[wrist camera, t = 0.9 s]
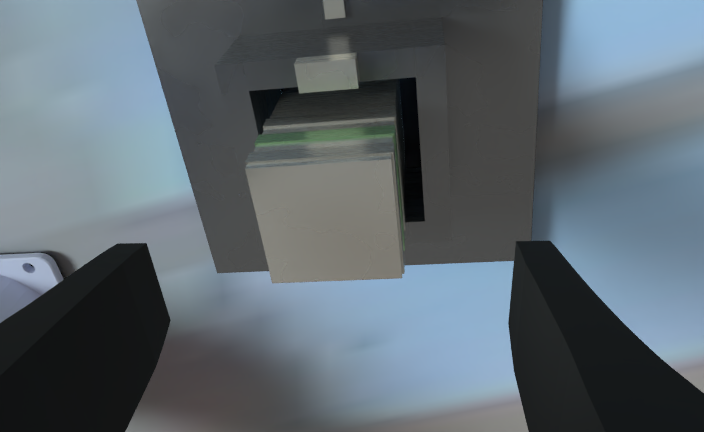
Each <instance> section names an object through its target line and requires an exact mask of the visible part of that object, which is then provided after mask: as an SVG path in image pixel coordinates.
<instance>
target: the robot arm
mask: <svg viewBox="0 0 704 432" xmlns="http://www.w3.org/2000/svg"><path fill="white" fill-rule="evenodd" d="M30 264H31V265H33V266H34V267H32V266H31V265H30ZM169 324H170V317H169V314H168V311H167V308H166V304H165V301H164V298H163V295H162V292H161V288H160V285H159V282H158V279H157V276H156V272H155V269H154V266H153V263H152V260H151V256H150V253H149V250H148V247H147V243H134V244H116V245H115V246H113V247H111V248H109V249H108V250H106V251H105V252H103V253H102V254H100V255H99V256H97V257H96V258H94V259H93V260H91V261H90V262H88V263H87V264H85V265H84V266H83V267H81V268H80V269H78V270H77V271H75V272H74V273H73V274H71V275H70V276H68V277H67V278H65V279H63V277H62V275H61V273H60V271H59V268H58V266H57V264H56V262H55V261H54V259H53V258H52V257H51V256H49V255H47V254H45V253H25V254H5V255H0V432H125V431H126V429H127V427H128V424H129V422H130V420H131V418H132V416H133V414H134V412H135V410H136V408H137V406H138V404H139V402H140V400H141V397H142V395H143V393H144V391H145V389H146V387H147V385H148V383H149V380H150V378H151V376H152V374H153V372H154V370H155V367H156V365H157V362H158V359H159V356H160V353H161V350H162V347H163V344H164V341H165V337H166V334H167V331H168V327H169ZM509 332H510V341H511V350H512V358H513V365H514V372H515V377H516V381H517V385H518V389H519V393H520V397H521V401H522V406H523V410H524V414H525V418H526V422H527V426H528V430H529V432H704V393H703V392H701V391H700V390H699V389H698V388H696V387H695V386H694V385H693V384H691V383H690V382H689V381H688V380H686V379H685V378H684V377H683V376H681V375H680V374H679V373H678V372H676V371H675V370H674V369H673V368H671V367H670V366H669V365H668V364H667V363H665V362H664V361H663V360H662V359H661V358H660V357H659V356H657V355H656V354H655V353H654V352H653V351H652V350H651V349H650V348H649V347H648V346H647V345H646V344H644V343H643V342H642V341H641V340H640V339H639V338H638V337H637V336H636V335H635V334H634V333H633V332H632V331H631V330H630V329H629V328H628V327H627V326H626V325H625V324H624V323H623V322H622V321H621V320H620V319H619V318H618V317H617V316H616V315H615V314H614V313H613V312H612V311H611V310H610V309H609V308H608V307H607V305H606V304H605V303H604V302H603V301H602V300H601V299H600V298H599V297H598V296H597V295H596V294H595V293H594V291H593V290H592V289H591V288H590V287H589V286H588V285H587V284H586V282H585V281H584V280H583V279H582V278H581V277H580V275H579V274H578V273H577V272H576V271H575V270H574V268H573V267H572V266H571V265H570V264H569V262H568V261H567V260H566V259H565V258H564V256H563V255H562V254H561V253H560V252H559V250H558V249H557V248H556V247H555V246H554V245H553V244H552V243H551V242H550V241H516V246H515V257H514V268H513V279H512V290H511V301H510V312H509Z"/></svg>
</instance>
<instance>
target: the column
mask: <svg viewBox="0 0 704 432" xmlns="http://www.w3.org/2000/svg"><path fill="white" fill-rule="evenodd" d="M254 144H255V149H254V152H250V153H249V155H248V157H247V159H246V161H245V164H246V168H245V171H246V175H247V179H248V184H249V188H250V192H251V196H252V200H253V204H254V209H255V213H256V217H257V221H258V225H259V230H260V234H261V238H262V242H263V246H264V251H265V255H266V259H267V263H268V267H269V272H270V276H271V280H272V283H291V282H317V281H343V280H368V279H394V278H402V274H404V268H405V261H404V251H405V234H404V230H405V209H404V184H405V144H404V131H403V118H402V105H401V92H400V80H399V79H388V80H376V81H364V82H360V84H359V89H347V90H335V91H322V92H310V93H299V90H298V87H291V88H284V90H283V92H282V94H281V96H280V98H279V100H278V103H277V105H276V107H275V109H274V111H273V113H272V115H271V117H270V119H266V121H265V123H264V125H263V133H262V135H258V137H257V139H256V141H255V143H254Z"/></svg>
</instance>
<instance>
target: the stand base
mask: <svg viewBox="0 0 704 432" xmlns="http://www.w3.org/2000/svg"><path fill="white" fill-rule="evenodd" d="M136 1H137V4H138V7H139V11H140V14H141V17H142V21H143V24H144V28H145V31H146V34H147V38H148V41H149V44H150V48H151V51H152V55H153V58H154V61H155V65H156V68H157V71H158V75H159V78H160V82H161V85H162V88H163V92H164V95H165V98H166V102H167V105H168V109H169V112H170V115H171V119H172V122H173V125H174V129H175V132H176V135H177V139H178V142H179V146H180V149H181V152H182V156H183V159H184V162H185V166H186V169H187V173H188V176H189V179H190V183H191V186H192V189H193V193H194V196H195V200H196V203H197V206H198V210H199V213H200V216H201V220H202V223H203V227H204V230H205V233H206V237H207V240H208V243H209V247H210V250H211V254H212V257H213V260H214V264H215V267H216V270H217V273H231V272H255V271H269V267H268V263H267V259H266V255H265V251H264V246H263V242H262V238H261V234H260V230H259V225H258V221H257V217H256V213H255V209H254V204H253V200H252V196H251V192H250V188H249V184H248V179H247V175H246V171H245V168H246V164H245V161H246V159H247V157H248V155H249V153H250V152H254V149H255V144H254V143H255V141H256V139H257V137H258V135H262V133H263V125H264V123H265V121H266V119H270V117H271V115H272V113H273V111H274V109H275V107H276V105H277V103H278V100H279V98H280V96H281V89H280V88H291V87H298V90H299V93H310V92H322V91H335V90H347V89H359V84H360V82H364V81H376V80H388V79H400V78H412V77H416V88H417V104H418V120H419V135H420V151H421V167H422V168H406V169H405V184H404V209H405V230H404V234H405V251H404V261H405V265H423V264H447V263H471V262H495V261H514V257H515V246H516V241H531V233H532V213H533V192H534V172H535V151H536V131H537V110H538V90H539V69H540V49H541V28H542V8H543V0H136Z"/></svg>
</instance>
